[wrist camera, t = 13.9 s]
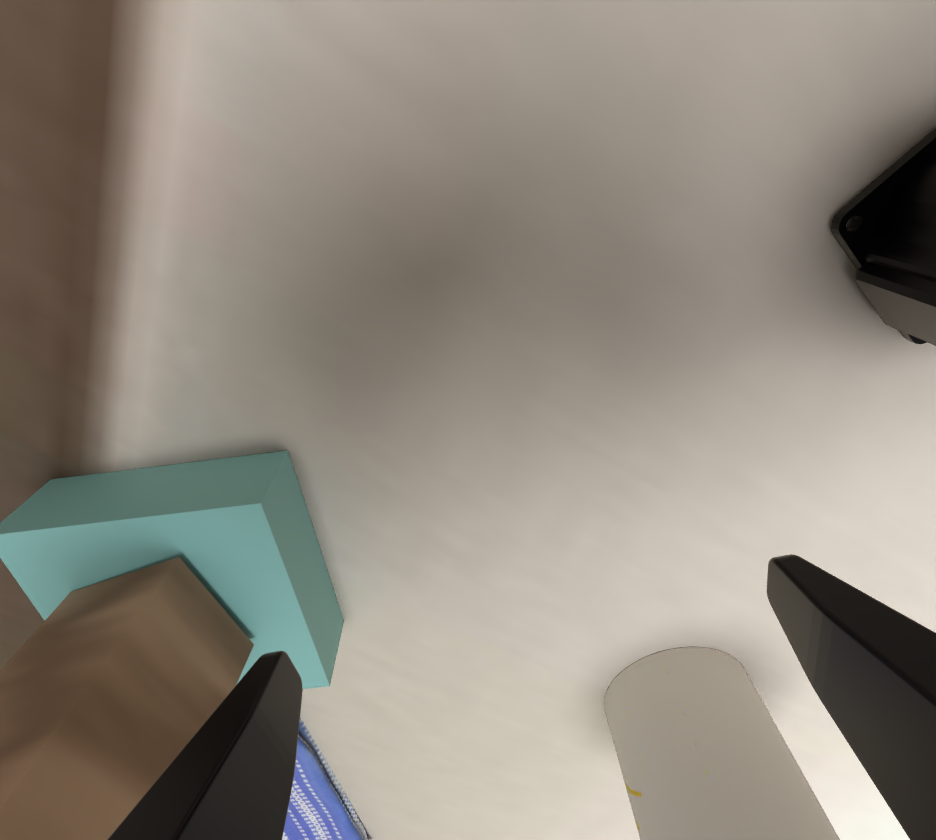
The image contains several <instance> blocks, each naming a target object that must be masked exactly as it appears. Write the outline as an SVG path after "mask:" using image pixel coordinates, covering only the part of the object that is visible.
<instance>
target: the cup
mask: <svg viewBox="0 0 936 840" xmlns="http://www.w3.org/2000/svg"><path fill="white" fill-rule="evenodd" d="M604 708H605V712H606V716H607V720H608V723H609V727H610V731H611V734H612V738H613V741H614V745H615V749H616V752H617V756H618V760H619V763H620V767H621V771H622V774H623V778H624V781H625V785H626V789H627V792H628V796H629V800H630V803H631V807H632V810H633V814H634V818H635V821H636V825H637V829H638V832H639V836H640V839H641V840H840V839H839V837H838V835H837V834H836V832H835V830H834V828H833V826H832V825H831V823H830V821H829V819H828V818H827V816H826V814H825V812H824V810H823V809H822V807H821V805H820V803H819V801H818V800H817V798H816V796H815V794H814V792H813V791H812V789H811V787H810V785H809V784H808V782H807V780H806V778H805V776H804V775H803V773H802V771H801V769H800V767H799V766H798V764H797V762H796V760H795V759H794V757H793V755H792V753H791V751H790V750H789V748H788V746H787V744H786V742H785V741H784V739H783V737H782V735H781V733H780V732H779V730H778V728H777V726H776V725H775V723H774V721H773V719H772V717H771V716H770V714H769V712H768V710H767V708H766V707H765V705H764V703H763V701H762V699H761V698H760V696H759V694H758V692H757V691H756V689H755V687H754V685H753V683H752V682H751V680H750V678H749V676H748V674H747V673H746V671H745V669H744V667H743V666H742V665H741V664H740V662H738V661H737V660H736V659H735V658H733V657H732V656H730V655H728V654H726V653H724V652H721V651H718V650H715V649H710V648H702V647H683V648H675V649H669V650H665V651H661V652H658V653H655V654H652V655H649V656H647V657H644V658H642V659H640V660H638V661H636V662H635V663H633V664H631V665H630V666H628V667H627V668H626V669H624V670H623V671H622V672H621V673H620V674H619V675H618V676H617V677H616V678H615V679H614V680H613V681H612V683H611V684H610V686H609V688H608V690H607V692H606V695H605V699H604Z"/></svg>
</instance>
